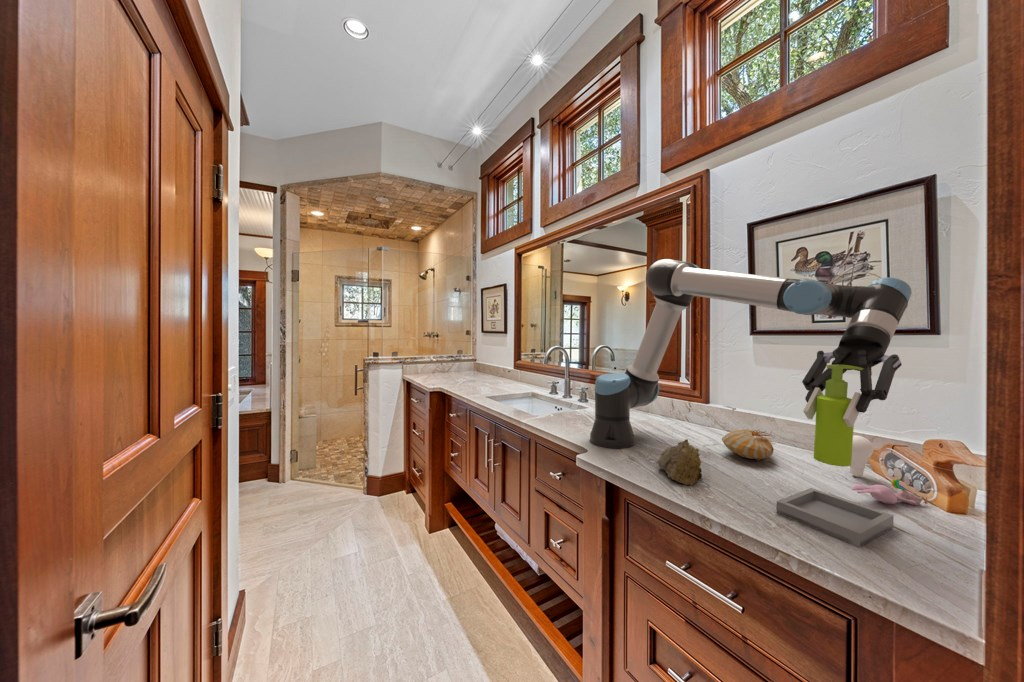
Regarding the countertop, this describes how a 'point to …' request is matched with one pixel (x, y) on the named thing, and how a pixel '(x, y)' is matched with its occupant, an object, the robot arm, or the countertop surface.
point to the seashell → (681, 463)
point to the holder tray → (836, 516)
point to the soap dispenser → (834, 421)
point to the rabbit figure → (890, 493)
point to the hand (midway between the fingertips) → (826, 418)
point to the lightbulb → (860, 454)
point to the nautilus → (748, 444)
